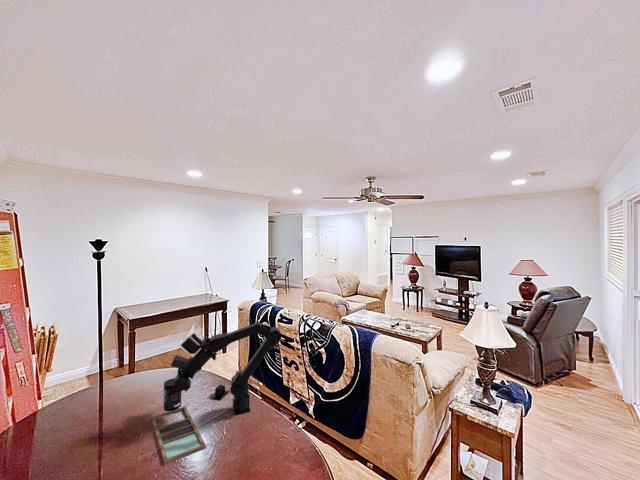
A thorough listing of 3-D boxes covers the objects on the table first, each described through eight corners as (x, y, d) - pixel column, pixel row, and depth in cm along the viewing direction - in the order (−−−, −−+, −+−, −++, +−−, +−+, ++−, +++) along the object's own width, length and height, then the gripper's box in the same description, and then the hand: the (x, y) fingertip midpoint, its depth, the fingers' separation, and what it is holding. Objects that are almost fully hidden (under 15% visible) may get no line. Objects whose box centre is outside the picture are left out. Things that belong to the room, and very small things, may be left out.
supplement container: (173, 401, 120) (173, 376, 121) (185, 404, 118) (185, 379, 118) (159, 409, 114) (159, 383, 114) (171, 413, 112) (172, 387, 112)
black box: (219, 404, 129) (219, 393, 129) (205, 402, 131) (205, 392, 131) (233, 390, 141) (233, 381, 142) (219, 389, 143) (220, 379, 143)
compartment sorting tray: (151, 418, 116) (151, 416, 116) (185, 408, 124) (185, 406, 124) (164, 465, 92) (164, 461, 92) (205, 448, 100) (206, 445, 100)
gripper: (186, 342, 127) (158, 370, 123) (181, 357, 109) (148, 390, 105) (204, 357, 129) (177, 385, 125) (202, 374, 112) (171, 408, 108)
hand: (168, 391), depth 116 cm, fingers closed on supplement container, 7 cm apart
